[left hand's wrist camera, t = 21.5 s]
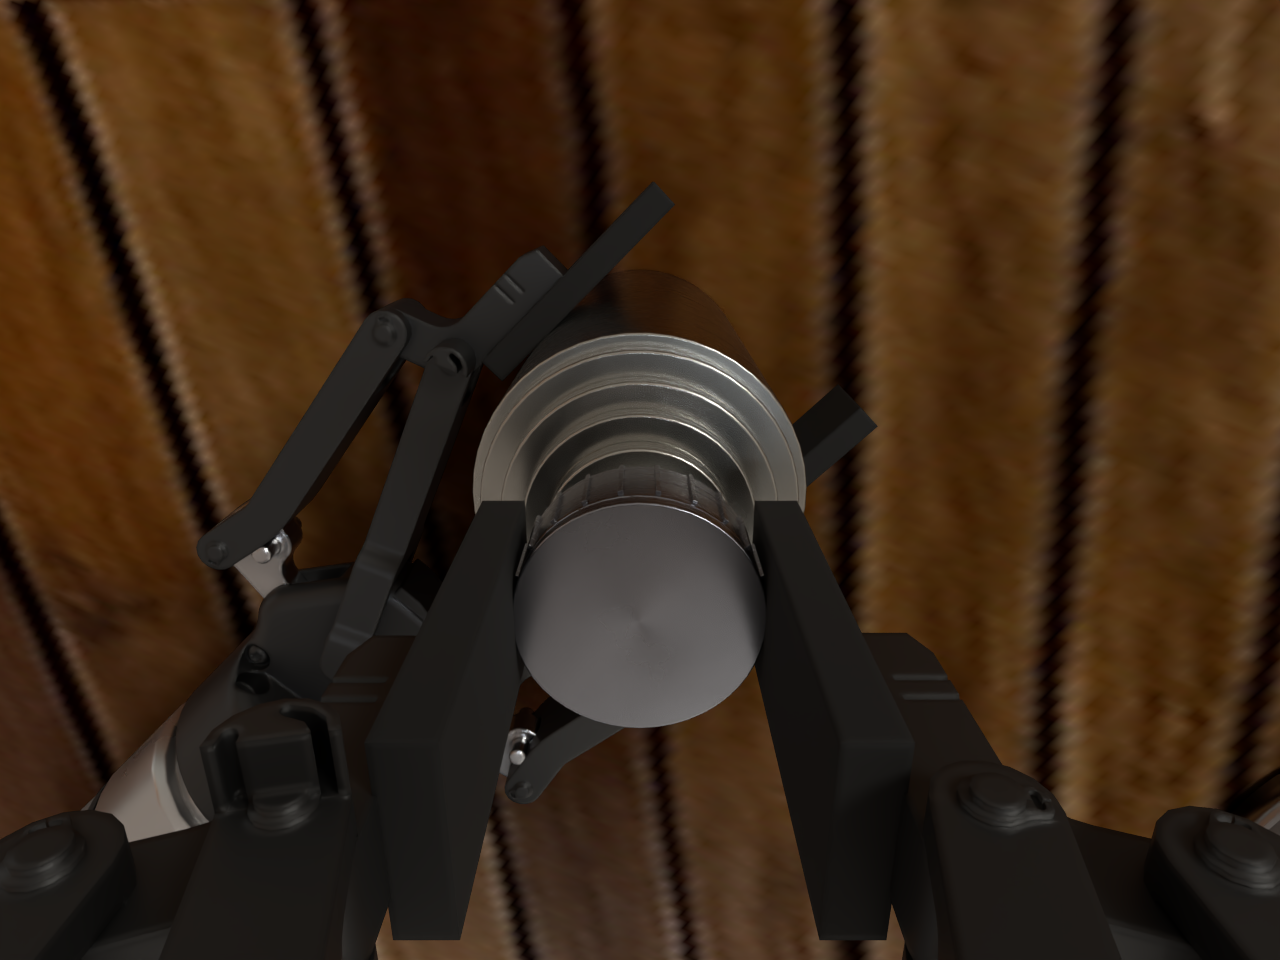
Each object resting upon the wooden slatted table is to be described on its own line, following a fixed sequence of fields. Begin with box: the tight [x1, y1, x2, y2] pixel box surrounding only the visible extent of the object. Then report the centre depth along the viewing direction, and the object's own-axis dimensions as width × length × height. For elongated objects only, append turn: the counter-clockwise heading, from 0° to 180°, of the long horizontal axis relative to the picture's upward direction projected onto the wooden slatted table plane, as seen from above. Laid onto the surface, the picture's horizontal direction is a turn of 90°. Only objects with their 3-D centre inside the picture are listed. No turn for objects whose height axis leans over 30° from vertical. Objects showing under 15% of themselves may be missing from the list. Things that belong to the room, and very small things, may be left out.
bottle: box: [473, 270, 807, 544], centre depth 21 cm, size 7×7×17 cm
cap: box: [513, 465, 767, 728], centre depth 14 cm, size 4×4×2 cm
